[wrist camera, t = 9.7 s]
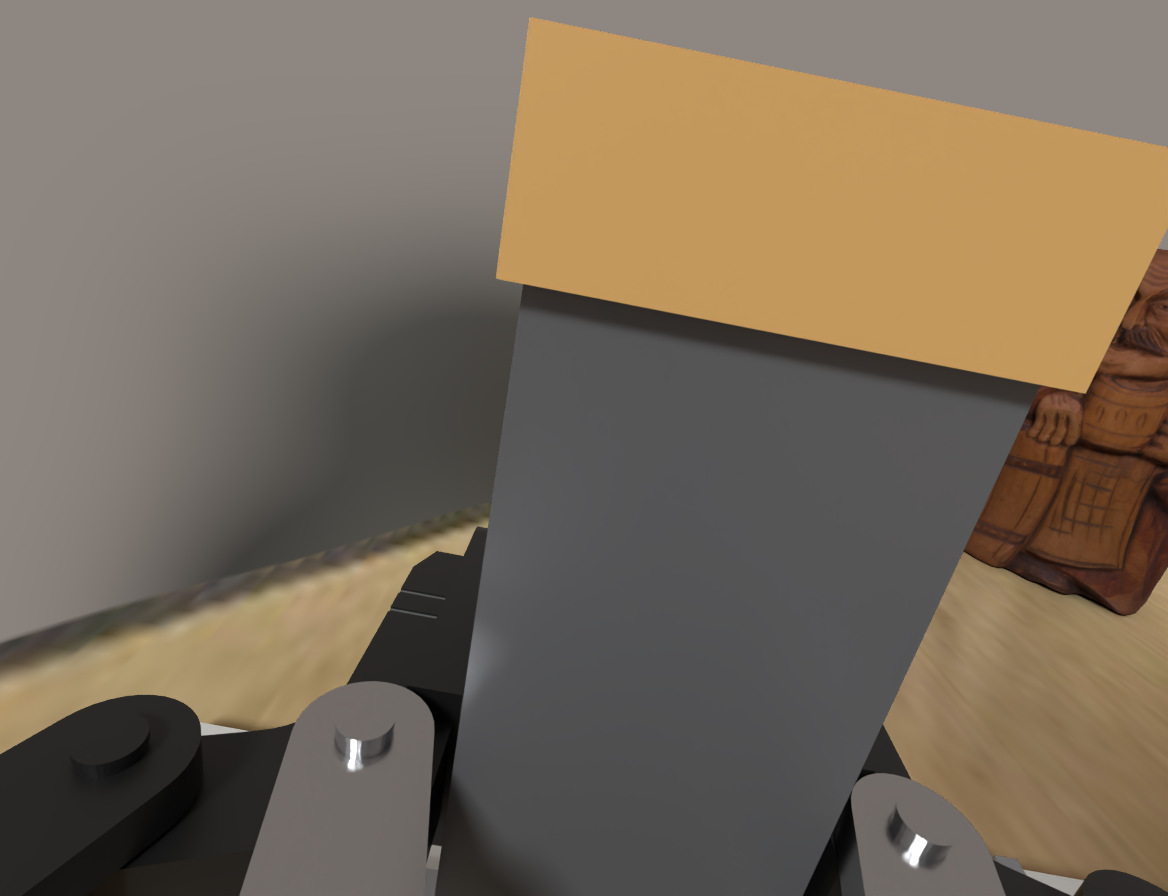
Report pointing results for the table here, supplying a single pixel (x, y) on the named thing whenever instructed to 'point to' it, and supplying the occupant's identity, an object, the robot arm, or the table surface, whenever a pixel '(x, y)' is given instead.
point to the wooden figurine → (1093, 471)
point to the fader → (749, 443)
